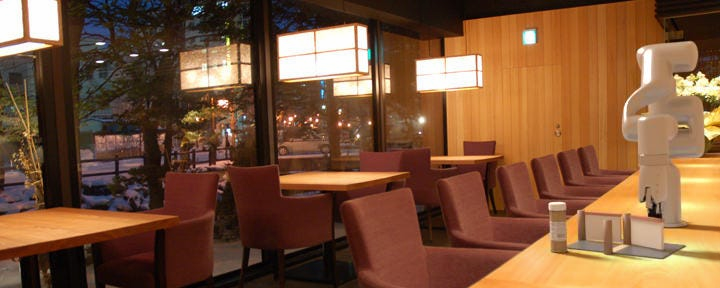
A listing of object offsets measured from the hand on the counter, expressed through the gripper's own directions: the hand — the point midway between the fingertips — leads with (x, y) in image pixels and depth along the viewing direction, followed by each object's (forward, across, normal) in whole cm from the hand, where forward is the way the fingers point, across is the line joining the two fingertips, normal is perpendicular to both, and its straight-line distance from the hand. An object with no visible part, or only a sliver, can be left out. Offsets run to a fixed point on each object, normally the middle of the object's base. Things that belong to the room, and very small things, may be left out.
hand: (655, 227), depth 166 cm
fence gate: (+5, +3, -1) cm, 6 cm away
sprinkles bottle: (+6, +18, -19) cm, 27 cm away
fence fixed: (+6, +7, -14) cm, 17 cm away
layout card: (+6, +3, -7) cm, 10 cm away
